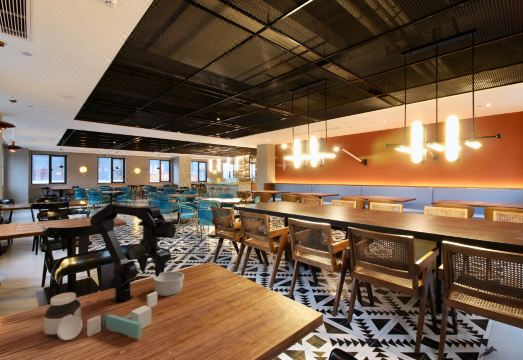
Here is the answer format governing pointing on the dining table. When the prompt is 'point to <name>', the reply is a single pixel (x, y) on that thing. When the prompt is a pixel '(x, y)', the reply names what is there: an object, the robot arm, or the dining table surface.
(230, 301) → the dining table surface
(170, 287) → the ramekin
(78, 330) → the spread jar
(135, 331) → the long teal plank
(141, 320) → the block
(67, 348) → the dining table surface
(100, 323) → the door frame
